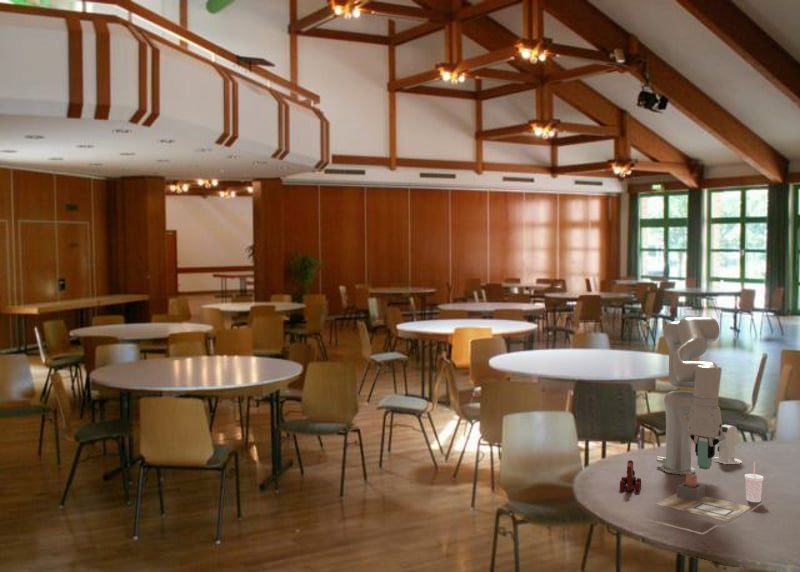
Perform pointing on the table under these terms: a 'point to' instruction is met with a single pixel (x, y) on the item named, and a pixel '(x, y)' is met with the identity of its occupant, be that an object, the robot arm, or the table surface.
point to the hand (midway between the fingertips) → (704, 455)
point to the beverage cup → (753, 486)
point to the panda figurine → (728, 443)
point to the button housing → (691, 492)
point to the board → (706, 507)
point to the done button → (691, 480)
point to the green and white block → (703, 453)
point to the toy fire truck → (630, 479)
